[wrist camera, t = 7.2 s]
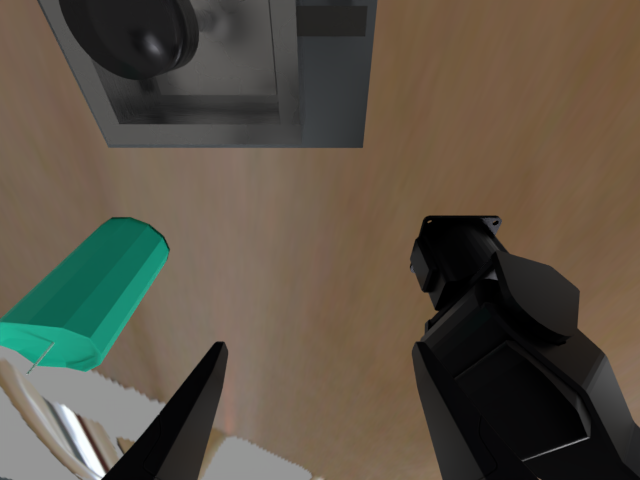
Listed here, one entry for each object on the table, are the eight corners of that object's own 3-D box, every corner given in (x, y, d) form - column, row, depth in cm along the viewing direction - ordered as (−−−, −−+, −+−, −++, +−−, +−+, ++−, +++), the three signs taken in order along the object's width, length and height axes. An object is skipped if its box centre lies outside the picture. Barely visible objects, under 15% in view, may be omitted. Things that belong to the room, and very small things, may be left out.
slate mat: (396, -205, 11) (398, -209, 11) (362, 146, 20) (362, 148, 19) (-57, -205, 11) (-65, -210, 11) (111, 146, 20) (108, 147, 19)
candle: (91, 209, 23) (-66, 339, 14) (167, 223, 24) (68, 354, 15) (107, 260, 27) (-8, 390, 17) (172, 271, 28) (96, 400, 18)
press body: (364, -127, 12) (386, -198, 8) (349, 118, 18) (357, 144, 14) (67, -127, 12) (-56, -198, 8) (154, 117, 18) (108, 144, 14)
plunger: (263, -75, 12) (201, -180, 6) (277, 93, 17) (250, 139, 10) (113, -76, 12) (-114, -180, 6) (165, 92, 17) (67, 138, 10)
